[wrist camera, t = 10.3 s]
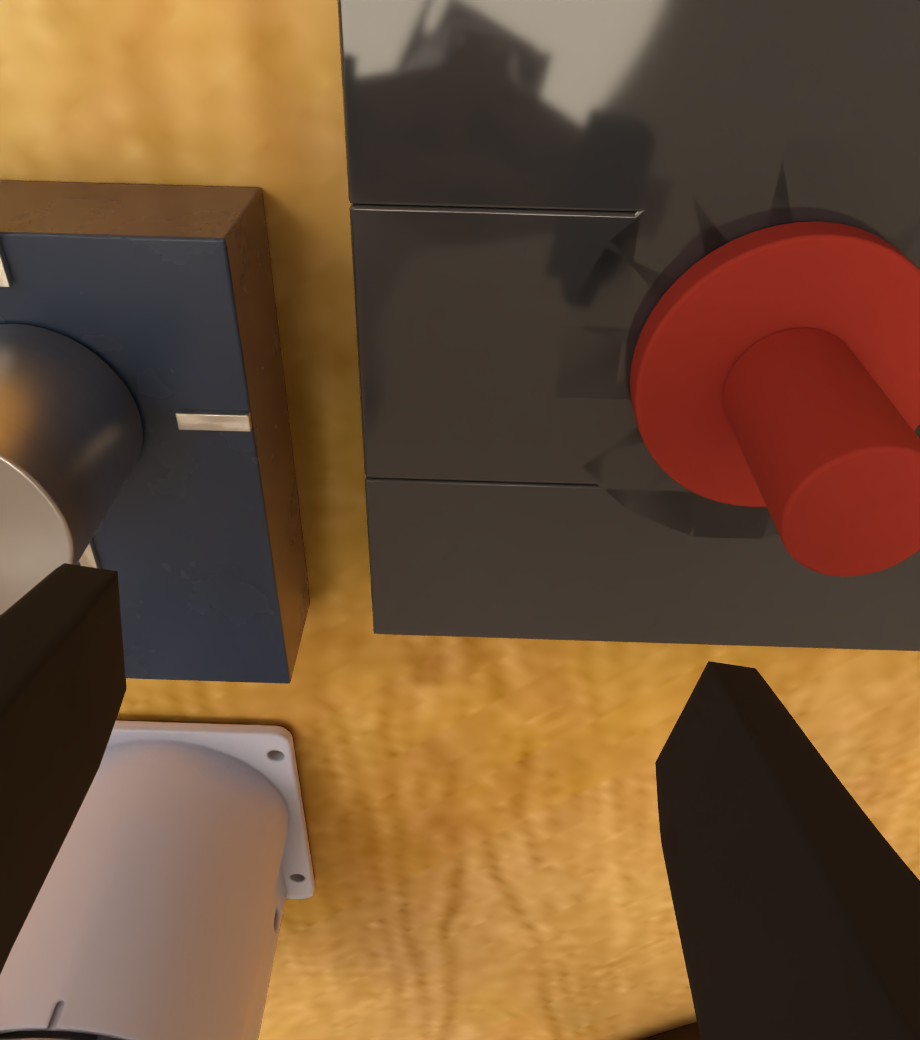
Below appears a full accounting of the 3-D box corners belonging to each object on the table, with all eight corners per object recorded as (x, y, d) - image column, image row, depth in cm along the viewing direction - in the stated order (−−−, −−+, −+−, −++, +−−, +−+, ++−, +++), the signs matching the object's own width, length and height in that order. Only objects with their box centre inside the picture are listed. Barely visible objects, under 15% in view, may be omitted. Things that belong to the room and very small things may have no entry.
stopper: (848, 445, 19) (982, 656, 14) (602, 438, 19) (645, 645, 14) (935, 193, 16) (1154, 347, 11) (638, 184, 16) (712, 334, 11)
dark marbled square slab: (908, 592, 23) (944, 652, 21) (382, 576, 23) (373, 634, 21) (1227, -110, 14) (1337, -109, 12) (349, -132, 14) (329, -133, 12)
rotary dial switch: (310, 601, 23) (289, 689, 21) (19, 592, 23) (-37, 679, 21) (259, 160, 16) (218, 211, 14) (-154, 148, 16) (-271, 198, 14)
